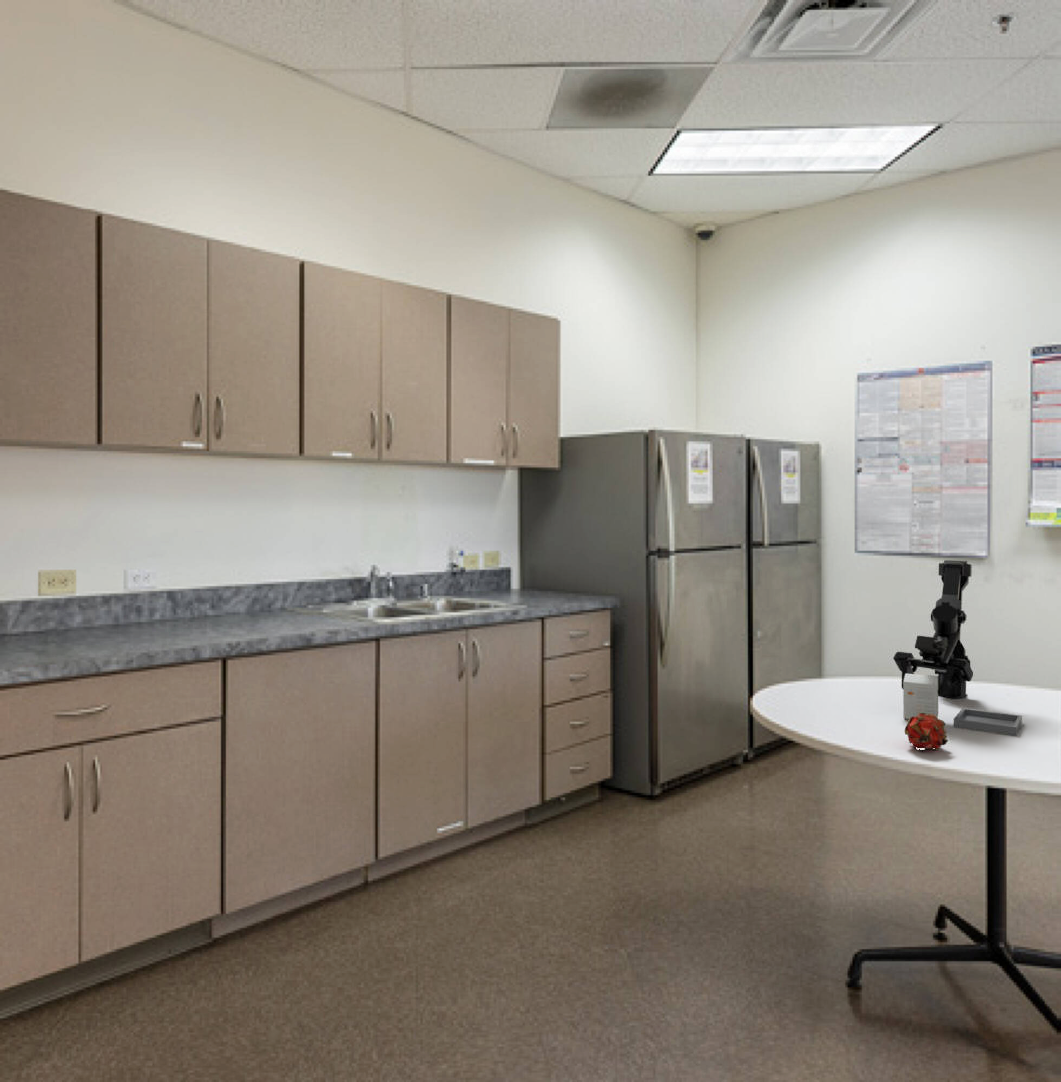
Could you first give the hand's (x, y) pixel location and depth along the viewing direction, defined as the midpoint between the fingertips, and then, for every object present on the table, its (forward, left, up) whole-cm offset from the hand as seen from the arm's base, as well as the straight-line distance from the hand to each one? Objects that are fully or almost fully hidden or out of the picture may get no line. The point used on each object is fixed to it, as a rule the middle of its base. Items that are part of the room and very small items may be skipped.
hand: (920, 691), depth 218 cm
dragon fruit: (+16, -22, -8) cm, 29 cm away
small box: (-1, +1, -7) cm, 7 cm away
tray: (+12, +10, -7) cm, 17 cm away
